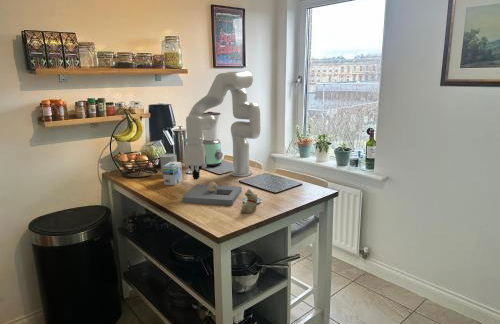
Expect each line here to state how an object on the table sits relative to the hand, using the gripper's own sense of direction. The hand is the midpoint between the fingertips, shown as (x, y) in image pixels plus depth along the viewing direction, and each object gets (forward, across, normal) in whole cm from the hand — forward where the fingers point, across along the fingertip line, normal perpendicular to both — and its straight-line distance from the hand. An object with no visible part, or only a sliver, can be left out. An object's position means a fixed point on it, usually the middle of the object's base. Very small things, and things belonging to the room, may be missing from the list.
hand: (196, 178), depth 169 cm
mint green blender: (+8, -12, +61) cm, 62 cm away
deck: (+9, +8, +1) cm, 12 cm away
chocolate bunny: (+9, +29, -14) cm, 34 cm away
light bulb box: (+9, -21, +20) cm, 30 cm away
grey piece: (+8, -29, +33) cm, 44 cm away
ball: (+4, +8, +1) cm, 9 cm away
